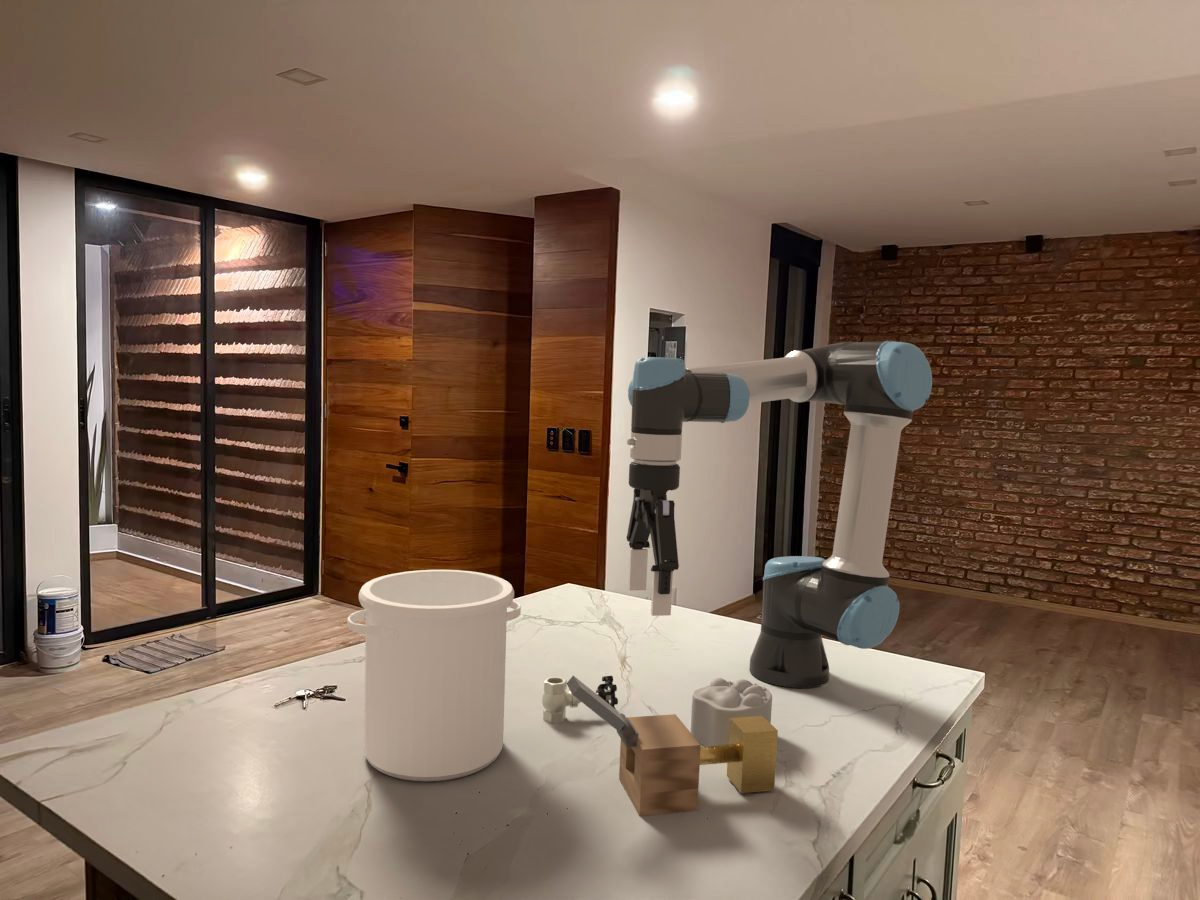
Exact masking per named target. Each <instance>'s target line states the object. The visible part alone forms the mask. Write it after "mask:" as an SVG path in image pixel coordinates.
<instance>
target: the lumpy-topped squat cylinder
mask: <svg viewBox="0 0 1200 900" xmlns="http://www.w3.org/2000/svg"><path fill="white" fill-rule="evenodd" d="M691 699H692V700H691V701H692V702H691V716H690V718H691V719H690V733H691V734H692V735H693V736H694V738H695V739H696V740H697V741H698V742H699V744H700V745H701V746H714V745H727V744H728V742H729V724H730V718H738V717H752V716H763V717H764V718H765V719H766V720H767V721H768V722H769V723H770V724H771V725H772V710H773V709H772V708H773V706H772V705H773V695H772V693H771V691H770V690H769V689H768V688H767V687H764V686H762V685H759V684H757V683H752V681H750V680H748V679H743V678H741V679H738V680H736V681H734V682H732V681H731V680H729V681H727V680H726V679H725V678H722V677H716V678H714V679H712V681H710V683H709V685H707V686H704V687H700V688H697V689H696V690H694V691H693V692H692V697H691Z"/></svg>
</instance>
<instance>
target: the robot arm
mask: <svg viewBox="0 0 1200 900" xmlns="http://www.w3.org/2000/svg"><path fill="white" fill-rule="evenodd" d="M632 375H633V376H632V379H631V380H630V382H629V385H628V389H627V397H628V402H629V404H630V406H631V419H630V420H631V425H630V427H631V429H630V431H631V432H630V437H631V438H628V439H627V440H626V443H627V445H628V446H630V451H629V453H630V454H629V455H630V458H631V460H633V461H631V462H630V463H629V469H628V485H629V487H631V488H632V489H633V501H632V505H631V506H632V507H631V511H630V517H629V522H628V529H627V535H626V541H627V542H629V543H628V545H629V548H630V549H629V562H628V563H629V565H628V566H629V567H628V585H627V586H628V588H627V589H628V591H647V578H648V577H647V575H648V553H649V550H648V549H647V548H649V549H650V548H651V547H652V552H653V553H652V554H653V561H654V564H653V565H651V568H650V571H651V572H652V584H651V585H652V586H651V591H652V592H651V608H650V614H651V616H652V617H654V616H655V617H659V616H661V617H663V616H664V617H665V616H672V596H673V593H672V592H673V577H674V576H673V575H674V571H677V570H679V567H680V563H679V555H678V545H677V544H678V543H677V535H676V534H677V533H676V532H677V531H676V522H675V506H676V504H675V501H674V500H669V499H668V497H667V493H668V492H669V491H675V490H678V489H679V487H680V474H681V473H680V472H681V466H680V465H679V464H678V463H677V462H680V460H681V459H682V440H683V434H682V433H683V424H684V423H685V422H686V423H687V422H692V423H693V422H695V423H696V422H698V423H699V422H701V423H721V424H725V423H729V422H737V421H739V420H740V419H741V418H743V417H744V416H745V415H746V414H747V411H748V408H749V406H750V405H752V404H758V403H764V402H765V403H766V402H771V401H772V402H773V401H781V400H786V399H787V400H788V399H789V400H790V401H792V402H794V403H804V402H819V403H829V404H834V405H835V404H837V405H844V407H843V415H844V416H845V417H846V419H847V420H848V422H849V423H850V429H849V435H848V442H847V443H848V444H847V449H846V455H845V456H846V457H845V464H844V472H843V477H842V478H843V479H842V486H841V492H840V498H839V506H838V513H837V520H836V527H835V534H834V539H833V540H834V541H833V549H832V554H831V556H830V557H828V558H827V559H825V558H823V557H818V556H810V555H809V556H805V555H801V556H800V555H799V556H798V555H795V556H794V555H793V556H792V555H790V556H789V555H788V556H779V557H773V558H771V559H769V560H767V562H766V563H765V565H764V571H763V572H764V574H763V576H762V593H761V594H762V595H761V596H762V597H761V599H762V600H761V621H760V622H761V623H760V624H761V625H760V632H759V636H758V638H757V640H756V643H755V645H754V648H753V650H752V653H751V655H750V659H749V673H750V674H751V675H752V676H753V677H755V678H757V679H758V680H760V681H762V682H765V683H767V684H772V685H775V686H779V687H785V688H796V689H804V688H805V689H808V688H816V687H820V686H823V685H825V684H827V682H828V681H829V679H830V666H829V661H828V657H827V654H826V650H825V645H824V642H823V636H825V637H826V638H829V639H832V640H834V641H837V642H840V643H841V644H842V645H845V646H852V647H855V648H859V649H862V650H867V649H871V648H872V649H873V648H876V647H877V646H879V645H880V644H882V643H883V642H884V641H885V639H887V637H889V636H890V635H891V633H892V631H893V630H894V628H895V626H896V624H897V621H898V619H899V614H900V601H899V599H898V596H897V595H898V594H897V593H896V592H895V591H894V590H893V589H892V588H891V587H889V582H890V581H889V580H890V573H889V572H888V570H887V569H886V568H885V566H884V564H883V560H884V559H883V557H884V552H885V545H886V538H887V531H888V524H889V518H890V517H889V516H890V511H891V504H892V496H893V490H894V482H895V475H896V469H897V463H898V455H899V450H900V449H899V447H900V442H901V441H900V440H901V435H902V430H903V429H904V428H905V427H906V426H908V425H909V424H910V423H912V422H913V415H914V414H913V413H914V411H916V410H919V409H920V408H922V407H924V405H925V404H926V401H928V400H929V398H930V395H931V393H932V388H933V387H932V386H933V374H932V368H931V366H930V362H929V360H928V359H927V357H926V355H925V353H924V352H923V350H921V348H920V347H918V346H916V345H915V344H913V343H909V342H902V341H895V340H893V341H892V340H884V341H860V342H859V341H857V342H856V341H854V342H853V341H848V342H847V341H845V342H844V341H843V342H836V343H832V344H831V343H830V344H826V345H822V346H821V345H820V346H817V347H812V348H806V349H801V350H793V351H790V352H788V353H787V354H786V355H784V357H779V358H778V357H777V358H768V359H761V360H750V361H740V362H734V363H733V362H732V363H724V364H715V365H706V366H696V367H687V368H686V363H685V361H684V359H683V358H677V357H658V356H657V357H655V356H644V357H643V356H641V357H640V358H637V360H636V361H635V363H634V368H633V374H632ZM649 539H651V544H650V542H649Z"/></svg>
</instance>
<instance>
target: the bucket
mask: <svg viewBox="0 0 1200 900" xmlns="http://www.w3.org/2000/svg"><path fill="white" fill-rule="evenodd" d="M514 598H515V590H514V587H513V586H512V584H511V583H510V582H509V581H507V580H505V579H504V578H502V577H499V576H497V575H494V574H488V573H483V572H477V571H470V570H461V569H425V570H424V569H421V570H420V569H419V570H412V571H411V570H409V571H403V572H402V571H401V572H397V573H396V572H395V573H391V574H387V575H382V576H379V577H376V578H373V579H371V580H369V581H366V582H365V583H364V584H363V585H362V586H361V588H360V589H359V593H358V601H359V604H360V605H361V607H362V608H364V609H361V610H358V611H357V610H356V611H355V612H352V613H350V614H349V615H348V617H347V623H346V624H347V626H346V627H347V629H348V630H350V631H352V632H354V633H355V634H360V635H364V636H365V642H364V643H365V649H364V653H365V654H364V655H365V657H364V658H365V659H364V725H363V726H364V727H363V728H364V729H363V731H364V732H363V733H364V734H363V741H364V742H363V751H364V755H365V757H366V760H367V762H368V763H369V764H370V766H371V767H373V769H375V770H377V771H379V772H380V773H382V774H384V775H387V776H388V777H392V778H395V779H399V780H404V781H411V782H425V783H426V782H429V783H431V782H442V781H449V780H456V779H460V778H464V777H467V776H469V775H473V774H474V773H477V772H479V771H481V770H483V769H485V768H487V767H488V766H489V765H491V764H493V763H494V761H496V760H497V758H498V757H499V755H500V754H501V751H502V748H503V746H504V729H505V728H504V726H505V725H504V724H505V720H504V719H505V694H506V693H505V692H506V691H505V689H506V687H505V686H506V684H505V683H506V656H507V655H506V652H507V648H506V647H507V624H508V623H507V622H508V621H509V622H510V621H512V620H515V619H517V618H519V617H520V616H521V613H522V611H521V610H522V609H521V607H522V606H521V604H520V603H519V602H517V601H515V600H514ZM509 608H510V609H512V610H510V611H508V609H509ZM364 619H365V624H362V623H356V622H358V621H360V620H364Z"/></svg>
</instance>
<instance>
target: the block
mask: <svg viewBox="0 0 1200 900" xmlns="http://www.w3.org/2000/svg"><path fill="white" fill-rule="evenodd" d="M619 714H620V715H621V717H622V718H623V720H624V721H625V723H626V724H625V725H624V726H623V728H622V729H621V730H620V731H617V730H616V733H617V735H618V736H619V738H620V747H619V748H620V749H619V750H620V751H619V773H618V780H619V781H620V783H621V785H622V787H623V790H625V792H626V795H627V796H628V798H629V800H630V801H631V803H632V805H633V807H634V809H635V811H636V813H637V814H638V816H639V817H643V816H653V815H661V814H662V815H663V814H664V815H665V814H672V813H683V812H684V813H685V812H693V811H694V812H696V811H698V803H699V786H700V783H699V781H700V780H699V779H700V766H701V765H700V748H701V746H702V745H700V744H699V742H698V741H697V740H696V739H695V738H694V736H693V735H692V734H691V730H689V729H688V728H687V727H686V725H685V724H684V723H683V722H682V720H681V719H680V718H679V717H678V716H677V714H675V713H674V714H673V713H672V714H671V713H670V714H661V715H660V714H659V715H645V716H643V715H642V716H629V717H626V715H625V714H624V713H622V712H621V713H620V712H619Z"/></svg>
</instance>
